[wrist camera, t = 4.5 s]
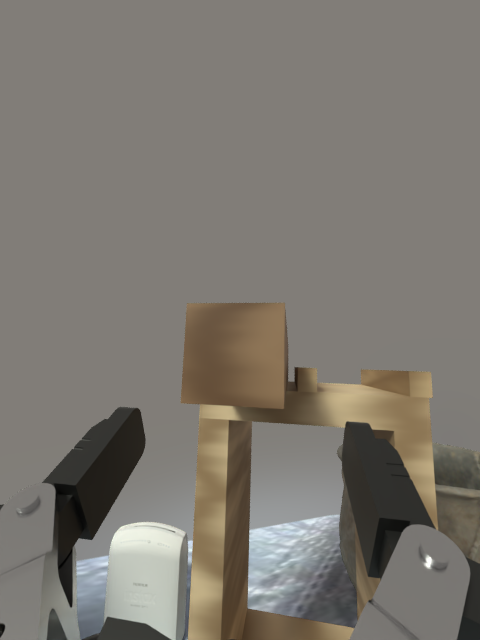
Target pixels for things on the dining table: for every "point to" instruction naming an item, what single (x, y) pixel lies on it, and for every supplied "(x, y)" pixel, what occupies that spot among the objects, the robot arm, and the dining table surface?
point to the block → (235, 355)
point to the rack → (234, 492)
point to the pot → (451, 501)
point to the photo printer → (148, 577)
